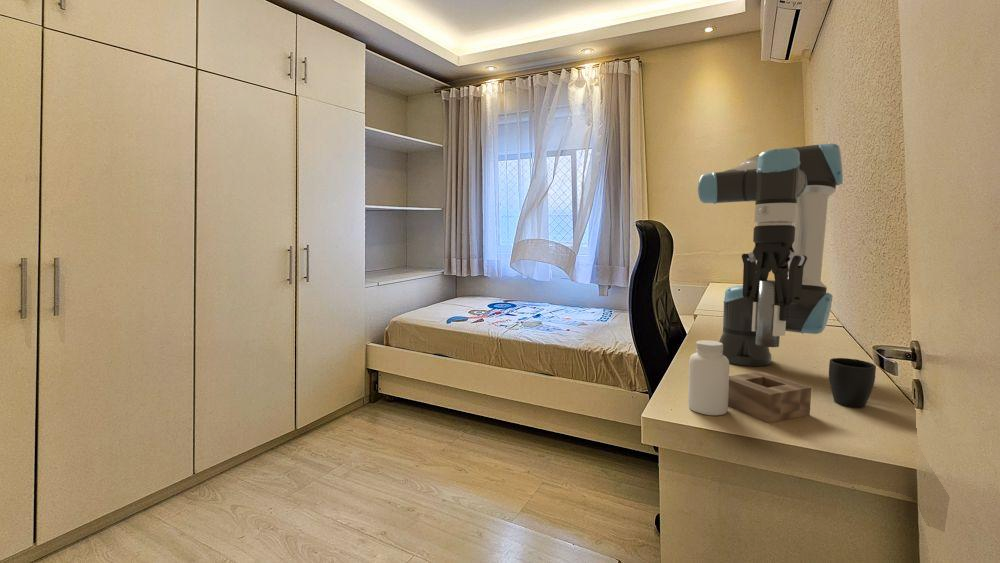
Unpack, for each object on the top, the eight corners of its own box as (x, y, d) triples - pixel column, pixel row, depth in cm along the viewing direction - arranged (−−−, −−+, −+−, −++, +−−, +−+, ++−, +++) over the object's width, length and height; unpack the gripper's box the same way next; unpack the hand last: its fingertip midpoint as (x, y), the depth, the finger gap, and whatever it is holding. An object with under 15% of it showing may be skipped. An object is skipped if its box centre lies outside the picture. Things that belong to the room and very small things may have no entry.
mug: (878, 399, 103) (881, 359, 102) (869, 413, 95) (872, 370, 94) (835, 390, 109) (837, 353, 108) (822, 403, 101) (825, 362, 100)
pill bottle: (686, 400, 103) (689, 337, 101) (725, 405, 100) (728, 340, 98) (688, 413, 95) (690, 345, 94) (729, 418, 92) (733, 348, 91)
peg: (765, 341, 99) (769, 279, 98) (783, 346, 95) (788, 281, 93) (750, 343, 97) (754, 280, 96) (768, 348, 93) (772, 282, 92)
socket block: (759, 396, 105) (760, 371, 105) (809, 414, 94) (811, 387, 94) (720, 402, 101) (721, 377, 101) (768, 423, 90) (770, 394, 89)
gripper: (727, 225, 101) (722, 326, 103) (802, 223, 84) (794, 343, 86) (751, 226, 103) (746, 324, 105) (829, 223, 87) (820, 340, 89)
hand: (767, 332), depth 96 cm, fingers closed on peg, 4 cm apart
